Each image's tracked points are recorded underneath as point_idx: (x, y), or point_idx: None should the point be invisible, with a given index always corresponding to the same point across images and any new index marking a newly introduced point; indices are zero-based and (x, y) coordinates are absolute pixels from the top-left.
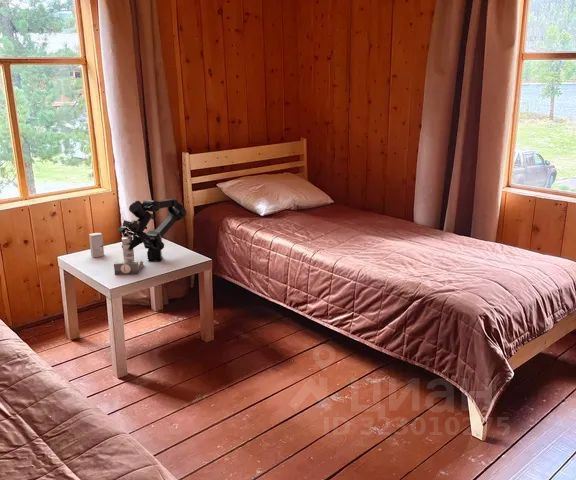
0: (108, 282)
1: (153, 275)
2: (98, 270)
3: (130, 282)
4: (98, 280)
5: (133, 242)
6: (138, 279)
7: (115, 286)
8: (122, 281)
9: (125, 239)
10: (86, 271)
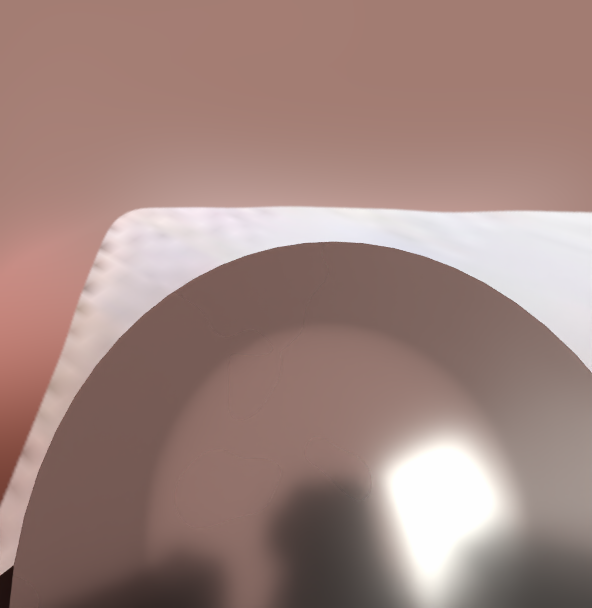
0: (210, 232)
1: (7, 549)
2: (485, 282)
3: (85, 320)
4: (289, 209)
5: (9, 580)
6: (71, 390)
7: (122, 231)
8: (147, 294)
9: (167, 299)
10: (516, 222)
